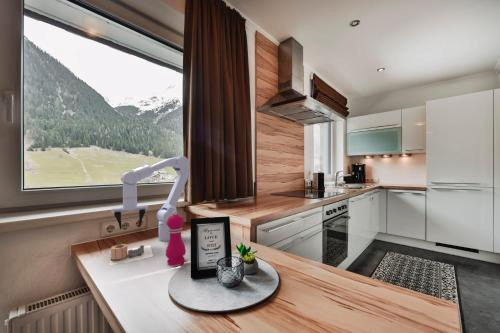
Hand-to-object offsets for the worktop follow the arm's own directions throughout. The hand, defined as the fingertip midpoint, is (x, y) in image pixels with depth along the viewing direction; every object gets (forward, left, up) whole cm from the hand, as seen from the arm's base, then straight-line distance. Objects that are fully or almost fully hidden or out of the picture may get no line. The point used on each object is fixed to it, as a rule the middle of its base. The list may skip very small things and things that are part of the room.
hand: (130, 227), depth 99 cm
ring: (+4, +12, -8) cm, 15 cm away
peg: (+4, +12, -9) cm, 16 cm away
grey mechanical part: (-2, +12, -9) cm, 15 cm away
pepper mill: (-15, +28, -10) cm, 33 cm away
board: (0, +10, -10) cm, 14 cm away
